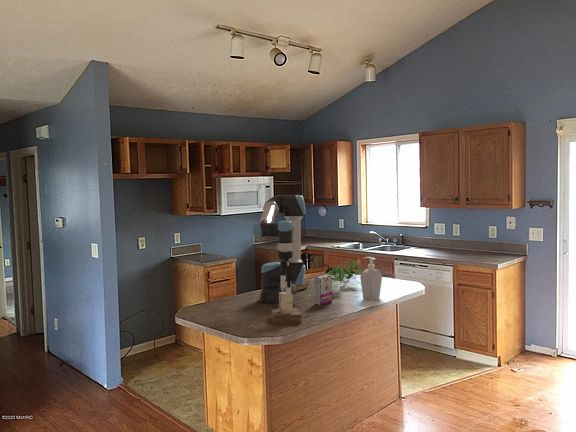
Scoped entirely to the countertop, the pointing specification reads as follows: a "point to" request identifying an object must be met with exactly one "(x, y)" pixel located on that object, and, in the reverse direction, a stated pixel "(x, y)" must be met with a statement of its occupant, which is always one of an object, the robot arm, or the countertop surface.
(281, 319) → the walnut block
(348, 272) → the plant cuttings
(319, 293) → the candy bar box
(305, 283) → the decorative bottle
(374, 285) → the soap bottle
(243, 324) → the countertop surface
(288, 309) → the ash block
